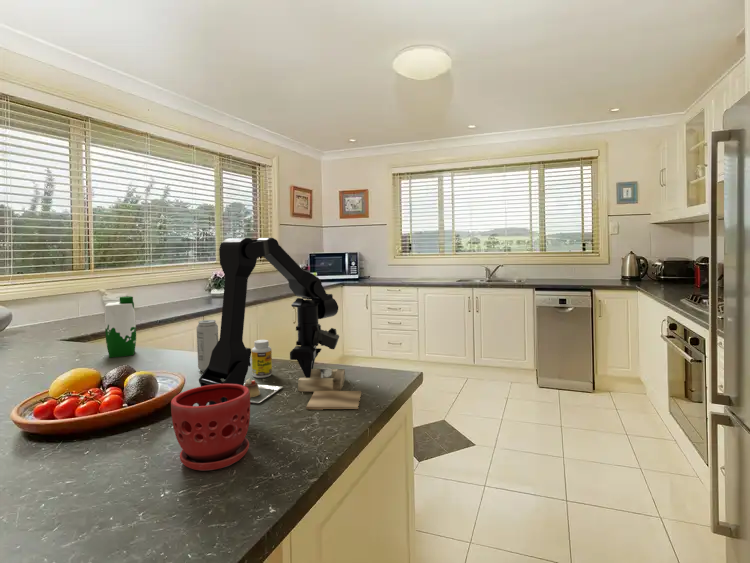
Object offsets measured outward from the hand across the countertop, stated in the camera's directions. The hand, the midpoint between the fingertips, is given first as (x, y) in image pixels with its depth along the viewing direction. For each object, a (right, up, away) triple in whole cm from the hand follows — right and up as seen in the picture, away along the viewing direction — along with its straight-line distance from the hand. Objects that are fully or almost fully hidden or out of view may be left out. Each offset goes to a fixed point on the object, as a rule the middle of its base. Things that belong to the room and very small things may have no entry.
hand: (308, 376), depth 120 cm
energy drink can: (-32, 0, +11) cm, 34 cm away
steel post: (+5, -1, -4) cm, 7 cm away
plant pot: (-10, -5, -43) cm, 45 cm away
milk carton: (-70, +1, +29) cm, 76 cm away
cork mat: (+9, -2, -16) cm, 18 cm away
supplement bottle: (-14, -1, +5) cm, 15 cm away
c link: (+4, -1, -4) cm, 6 cm away
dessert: (-13, -3, -11) cm, 17 cm away
